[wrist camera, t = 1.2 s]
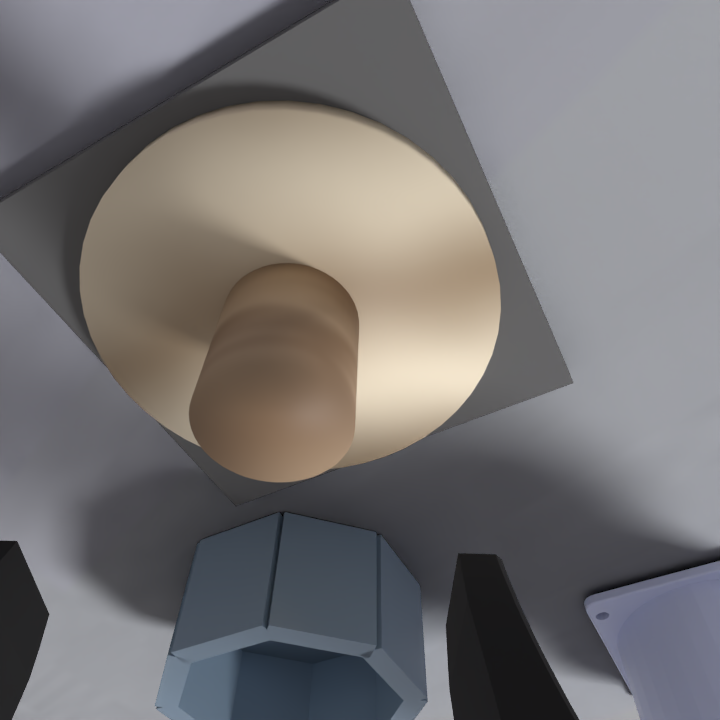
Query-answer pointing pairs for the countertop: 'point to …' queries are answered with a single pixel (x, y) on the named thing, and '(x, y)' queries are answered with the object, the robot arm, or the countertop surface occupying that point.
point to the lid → (290, 288)
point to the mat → (312, 85)
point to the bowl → (296, 627)
